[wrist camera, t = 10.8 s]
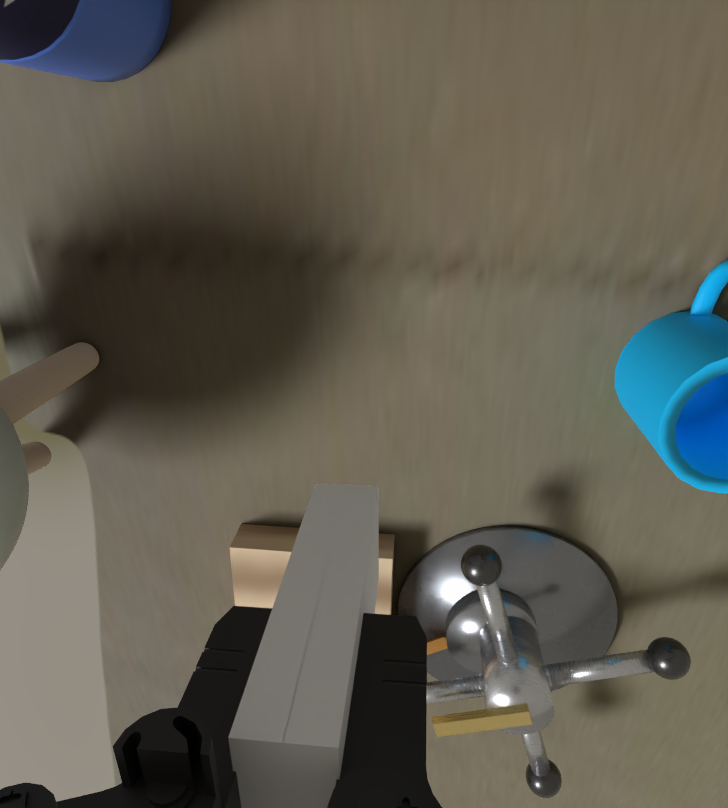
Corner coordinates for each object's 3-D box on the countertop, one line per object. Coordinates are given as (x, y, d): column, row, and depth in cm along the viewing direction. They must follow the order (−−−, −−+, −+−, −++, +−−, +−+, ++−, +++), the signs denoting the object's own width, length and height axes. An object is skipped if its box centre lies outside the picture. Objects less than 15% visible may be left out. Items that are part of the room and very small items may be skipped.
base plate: (401, 518, 45) (401, 524, 44) (634, 533, 44) (638, 540, 43) (394, 683, 52) (394, 691, 51) (595, 701, 50) (598, 709, 50)
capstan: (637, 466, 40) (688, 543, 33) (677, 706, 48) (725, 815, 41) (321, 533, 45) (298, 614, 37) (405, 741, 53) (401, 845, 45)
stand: (241, 523, 47) (219, 568, 42) (394, 534, 46) (390, 581, 41) (255, 690, 54) (237, 745, 49) (387, 703, 53) (383, 760, 48)
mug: (729, 432, 40) (799, 498, 32) (604, 425, 41) (644, 488, 33) (782, 248, 35) (878, 276, 28) (638, 245, 36) (694, 271, 28)
